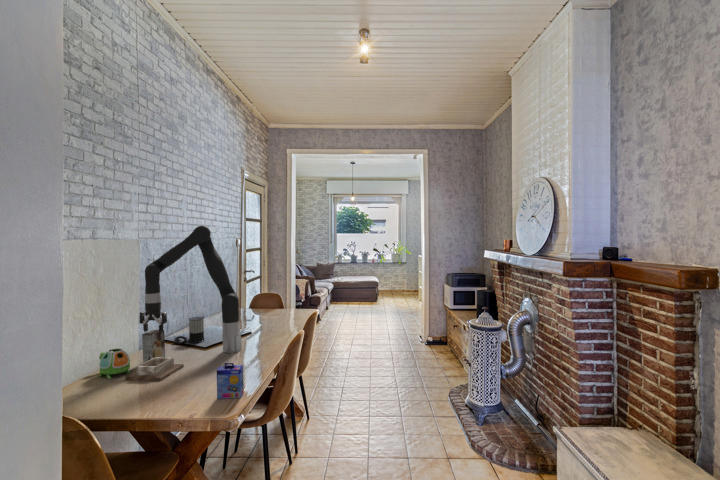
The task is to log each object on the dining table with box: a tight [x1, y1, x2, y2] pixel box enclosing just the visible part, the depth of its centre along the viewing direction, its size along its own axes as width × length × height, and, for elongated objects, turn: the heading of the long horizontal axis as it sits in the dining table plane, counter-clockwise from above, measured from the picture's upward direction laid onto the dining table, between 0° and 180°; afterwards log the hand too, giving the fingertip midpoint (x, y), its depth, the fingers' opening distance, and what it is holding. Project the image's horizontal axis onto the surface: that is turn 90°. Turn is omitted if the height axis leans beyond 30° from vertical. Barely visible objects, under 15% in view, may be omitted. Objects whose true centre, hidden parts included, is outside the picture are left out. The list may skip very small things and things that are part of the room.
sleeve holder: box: [124, 357, 185, 382], centre depth 183 cm, size 18×18×6 cm
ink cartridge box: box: [216, 362, 245, 400], centre depth 155 cm, size 10×6×14 cm, turn 95°
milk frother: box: [173, 316, 205, 345], centre depth 236 cm, size 14×16×15 cm
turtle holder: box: [98, 347, 131, 380], centre depth 183 cm, size 12×18×12 cm
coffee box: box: [141, 329, 166, 363], centre depth 200 cm, size 9×6×16 cm
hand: (153, 331), depth 200 cm, fingers open, 8 cm apart
